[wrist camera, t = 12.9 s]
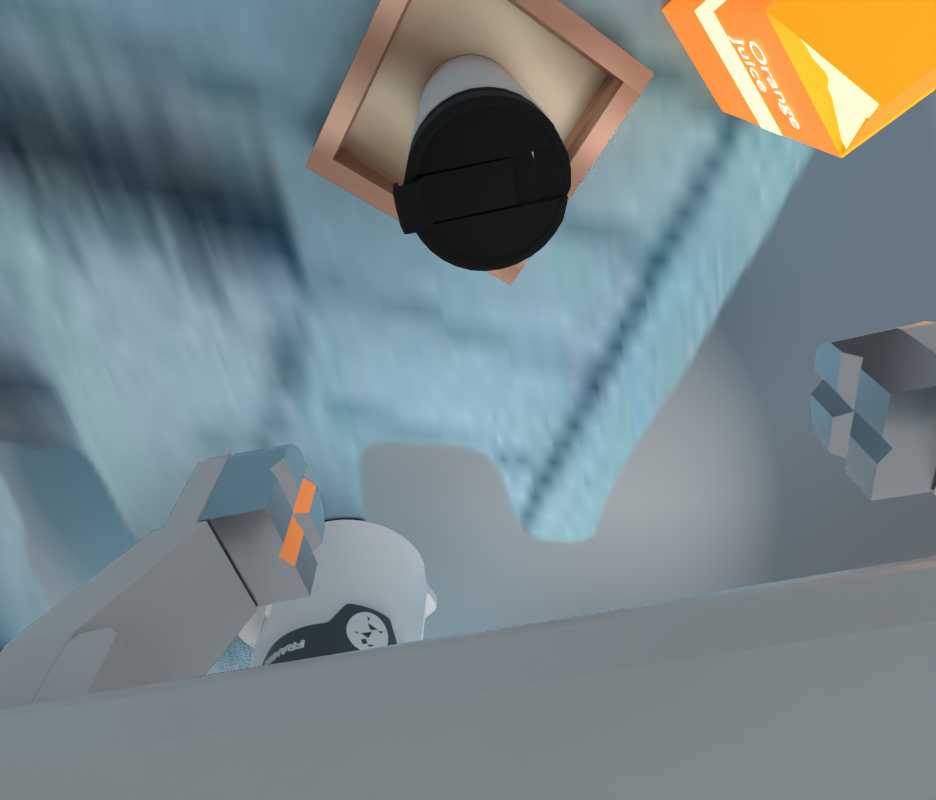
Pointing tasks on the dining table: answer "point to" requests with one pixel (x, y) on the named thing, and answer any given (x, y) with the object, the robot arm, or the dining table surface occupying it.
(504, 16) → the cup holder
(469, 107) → the travel mug
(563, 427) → the dining table surface
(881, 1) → the orange juice
